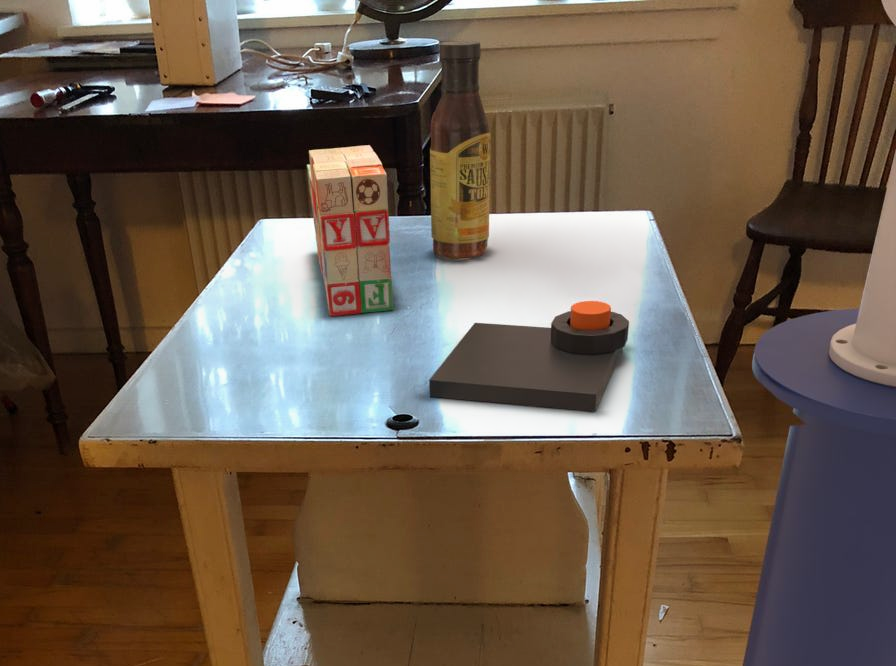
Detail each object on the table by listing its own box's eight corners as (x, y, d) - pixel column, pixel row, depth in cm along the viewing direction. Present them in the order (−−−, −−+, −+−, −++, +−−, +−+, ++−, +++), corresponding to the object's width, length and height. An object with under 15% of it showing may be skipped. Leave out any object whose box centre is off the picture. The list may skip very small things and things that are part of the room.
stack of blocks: (315, 253, 109) (302, 132, 102) (371, 248, 110) (362, 127, 102) (329, 317, 92) (315, 176, 85) (395, 310, 93) (386, 170, 85)
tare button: (612, 320, 80) (614, 301, 79) (605, 334, 78) (607, 315, 77) (574, 318, 81) (575, 299, 80) (566, 331, 79) (567, 312, 78)
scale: (630, 346, 83) (633, 311, 81) (602, 412, 73) (605, 373, 71) (476, 335, 86) (476, 302, 85) (429, 396, 76) (428, 359, 75)
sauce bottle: (467, 265, 103) (464, 47, 91) (420, 257, 106) (411, 45, 94) (501, 249, 107) (502, 38, 95) (455, 242, 110) (450, 37, 98)
